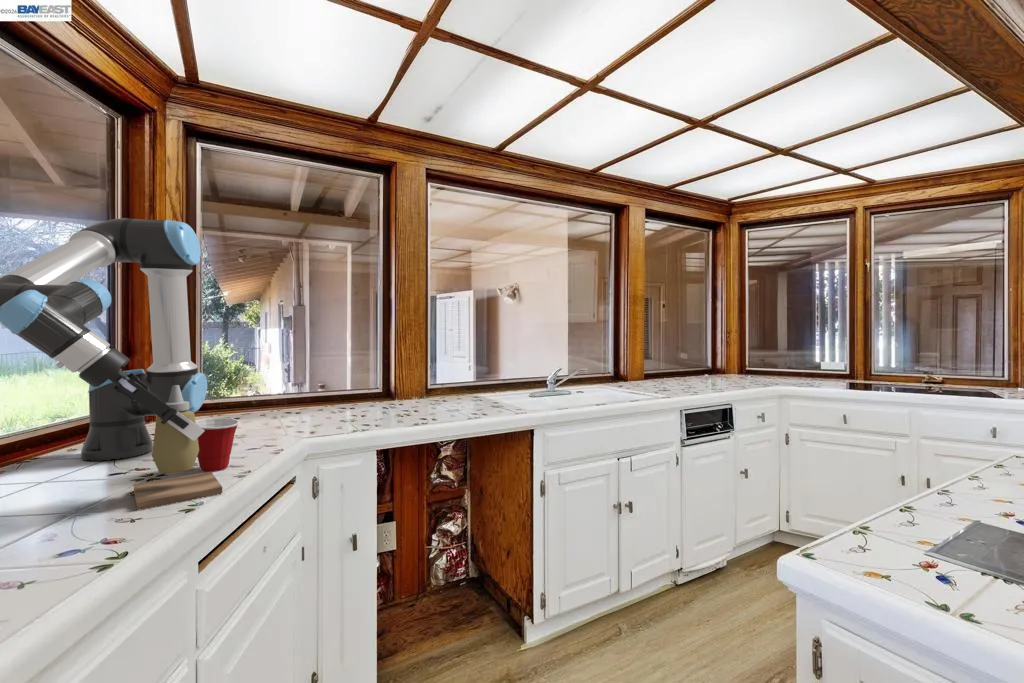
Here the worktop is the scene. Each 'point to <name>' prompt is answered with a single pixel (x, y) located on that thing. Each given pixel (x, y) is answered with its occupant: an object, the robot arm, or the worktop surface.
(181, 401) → the squeeze bottle
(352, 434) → the worktop surface
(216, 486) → the walnut board
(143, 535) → the worktop surface
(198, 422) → the plastic cup
